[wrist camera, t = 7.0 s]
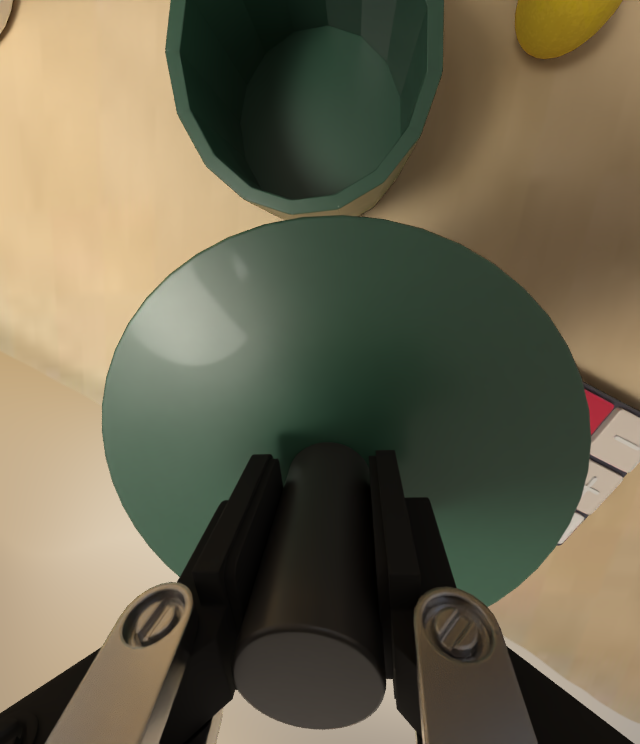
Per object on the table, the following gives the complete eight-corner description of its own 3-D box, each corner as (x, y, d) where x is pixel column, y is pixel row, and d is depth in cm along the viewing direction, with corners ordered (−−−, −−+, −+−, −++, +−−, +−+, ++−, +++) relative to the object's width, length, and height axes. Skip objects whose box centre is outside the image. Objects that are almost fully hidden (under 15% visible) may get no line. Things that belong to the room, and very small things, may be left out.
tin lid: (179, 606, 15) (53, 856, 9) (65, 250, 10) (-387, 241, 4) (540, 616, 13) (707, 941, 7) (605, 186, 8) (1329, -16, 2)
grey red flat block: (679, 431, 29) (564, 554, 33) (637, 411, 33) (540, 522, 37) (570, 374, 28) (467, 507, 32) (541, 360, 32) (453, 480, 36)
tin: (249, 235, 30) (198, 225, 20) (219, 36, 26) (135, -100, 16) (410, 217, 28) (440, 197, 19) (408, 1, 24) (447, -177, 14)
